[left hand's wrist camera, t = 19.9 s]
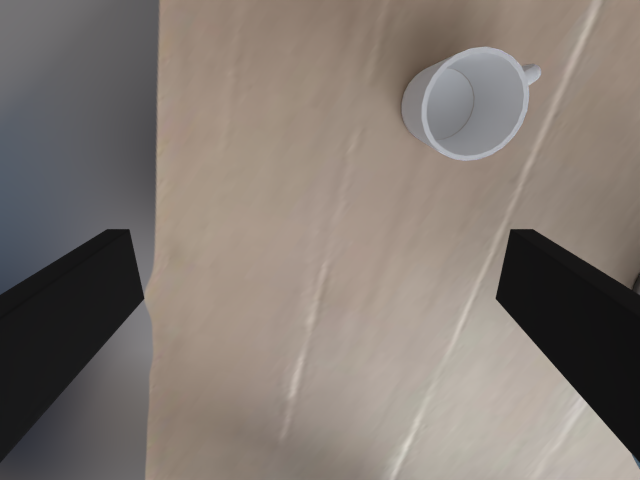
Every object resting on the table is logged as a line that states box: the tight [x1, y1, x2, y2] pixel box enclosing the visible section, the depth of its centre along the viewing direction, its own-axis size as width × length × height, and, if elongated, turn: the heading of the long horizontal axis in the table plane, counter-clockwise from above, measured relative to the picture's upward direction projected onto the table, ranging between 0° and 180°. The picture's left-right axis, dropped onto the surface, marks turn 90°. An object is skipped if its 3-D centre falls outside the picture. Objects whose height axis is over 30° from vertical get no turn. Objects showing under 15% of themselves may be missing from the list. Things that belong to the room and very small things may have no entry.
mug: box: [401, 47, 541, 161], centre depth 34 cm, size 11×9×10 cm
